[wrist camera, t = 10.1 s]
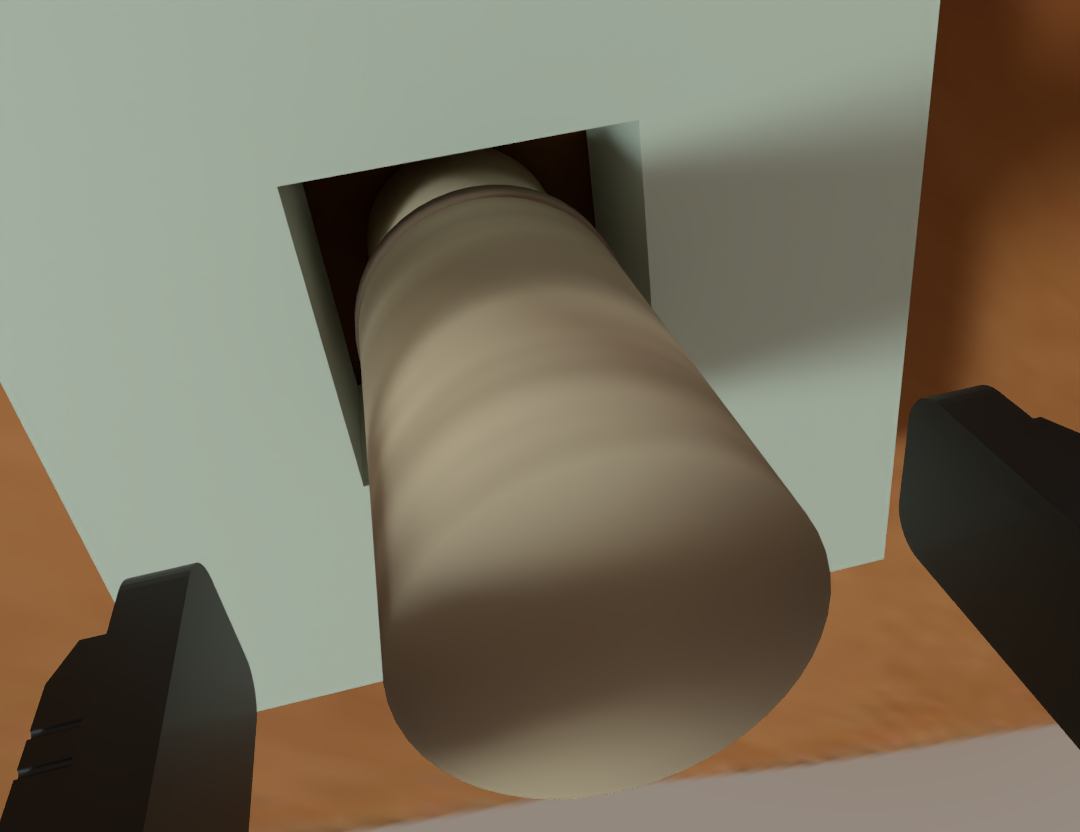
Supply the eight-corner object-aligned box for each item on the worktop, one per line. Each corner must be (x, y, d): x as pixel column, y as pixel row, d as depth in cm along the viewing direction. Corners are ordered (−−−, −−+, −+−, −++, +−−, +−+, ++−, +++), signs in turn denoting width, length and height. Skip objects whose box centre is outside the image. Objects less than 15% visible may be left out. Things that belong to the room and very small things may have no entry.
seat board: (-132, -147, 14) (-278, -154, 11) (834, -283, 16) (973, -326, 12) (202, 602, 23) (180, 730, 19) (806, 463, 24) (884, 558, 21)
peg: (324, 149, 18) (321, 515, 8) (557, 107, 18) (847, 399, 8) (377, 359, 20) (428, 845, 10) (581, 317, 21) (825, 740, 11)
